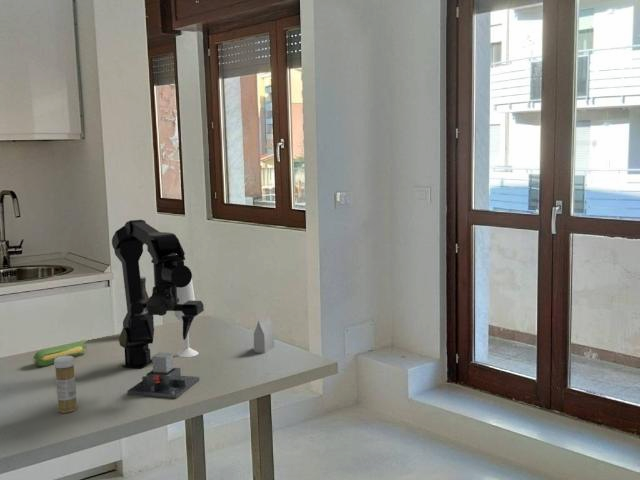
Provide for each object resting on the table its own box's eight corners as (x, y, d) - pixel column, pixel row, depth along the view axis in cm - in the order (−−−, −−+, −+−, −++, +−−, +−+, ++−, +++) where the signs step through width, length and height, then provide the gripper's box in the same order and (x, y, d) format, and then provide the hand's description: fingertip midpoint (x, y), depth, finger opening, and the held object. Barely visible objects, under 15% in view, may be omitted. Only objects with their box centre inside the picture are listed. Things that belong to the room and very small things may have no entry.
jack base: (127, 394, 186) (126, 377, 186) (153, 376, 200) (152, 361, 199) (176, 398, 183) (175, 381, 182) (199, 380, 196) (198, 364, 195)
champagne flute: (194, 357, 217) (190, 280, 213) (173, 356, 218) (169, 279, 214) (201, 350, 223) (198, 275, 220) (181, 350, 224) (177, 275, 221)
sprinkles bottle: (71, 405, 179) (68, 353, 177) (81, 409, 176) (77, 357, 174) (54, 410, 176) (50, 358, 174) (63, 415, 173) (59, 361, 171)
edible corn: (27, 353, 211) (36, 351, 208) (84, 338, 227) (93, 336, 224) (31, 370, 210) (39, 368, 208) (88, 354, 227) (96, 353, 224)
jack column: (153, 385, 189) (151, 356, 188) (160, 379, 193) (159, 352, 192) (167, 386, 188) (166, 357, 187) (174, 380, 192) (173, 353, 191)
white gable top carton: (274, 347, 226) (273, 316, 224) (264, 353, 220) (263, 321, 218) (264, 346, 227) (263, 315, 226) (254, 352, 221) (253, 320, 220)
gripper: (118, 287, 182) (122, 346, 184) (188, 288, 179) (191, 348, 181) (136, 278, 193) (140, 334, 195) (203, 279, 190) (205, 336, 192)
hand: (168, 338), depth 190 cm, fingers open, 9 cm apart
